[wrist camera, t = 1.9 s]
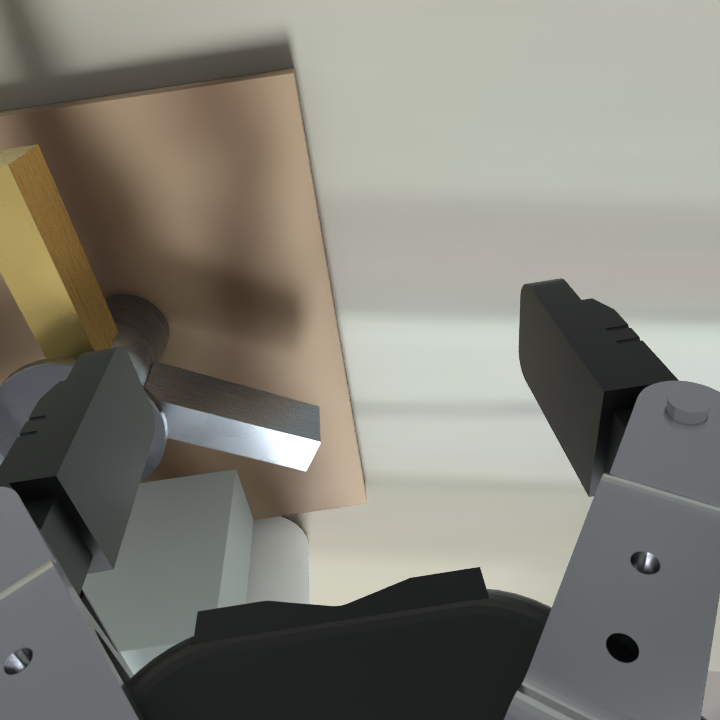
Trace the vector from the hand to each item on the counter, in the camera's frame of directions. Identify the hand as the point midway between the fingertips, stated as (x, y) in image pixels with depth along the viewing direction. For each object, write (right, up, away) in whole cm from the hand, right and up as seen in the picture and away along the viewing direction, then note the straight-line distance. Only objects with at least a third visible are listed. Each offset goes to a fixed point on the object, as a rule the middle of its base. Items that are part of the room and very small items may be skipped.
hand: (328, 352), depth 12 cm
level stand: (-11, -9, +22) cm, 26 cm away
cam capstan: (-10, +3, +14) cm, 18 cm away
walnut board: (-11, 0, +18) cm, 21 cm away
